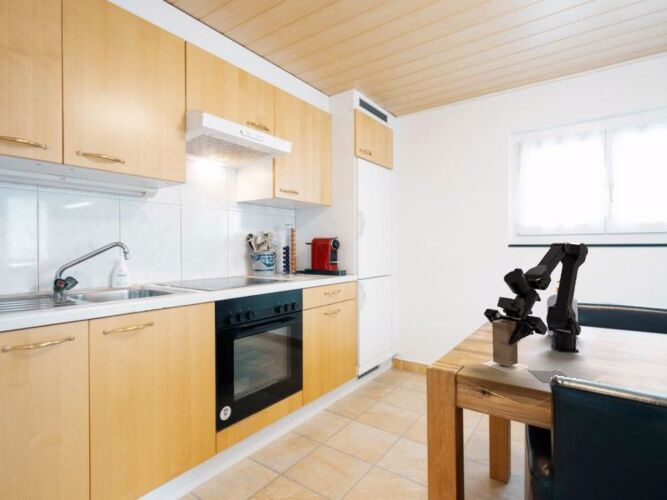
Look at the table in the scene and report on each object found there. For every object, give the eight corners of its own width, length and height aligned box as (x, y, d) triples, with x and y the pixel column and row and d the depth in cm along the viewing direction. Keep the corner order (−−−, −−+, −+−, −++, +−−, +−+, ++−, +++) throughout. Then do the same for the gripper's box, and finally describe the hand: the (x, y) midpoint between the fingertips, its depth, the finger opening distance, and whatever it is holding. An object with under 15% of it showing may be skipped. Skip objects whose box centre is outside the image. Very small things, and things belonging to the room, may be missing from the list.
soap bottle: (579, 336, 139) (578, 280, 139) (571, 339, 135) (570, 281, 135) (554, 332, 147) (553, 279, 147) (547, 335, 143) (546, 280, 143)
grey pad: (560, 372, 102) (560, 370, 102) (578, 384, 93) (578, 383, 93) (528, 371, 103) (528, 370, 103) (542, 384, 94) (542, 382, 94)
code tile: (501, 359, 115) (501, 357, 115) (530, 368, 106) (530, 366, 106) (481, 364, 110) (481, 363, 110) (509, 374, 101) (509, 373, 101)
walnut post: (503, 358, 111) (502, 319, 111) (517, 363, 107) (516, 322, 107) (493, 361, 109) (492, 321, 109) (507, 366, 105) (506, 324, 104)
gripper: (486, 285, 118) (464, 321, 113) (540, 290, 101) (518, 333, 96) (502, 305, 122) (481, 341, 117) (556, 313, 105) (535, 355, 100)
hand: (502, 342), depth 107 cm, fingers closed on walnut post, 5 cm apart
